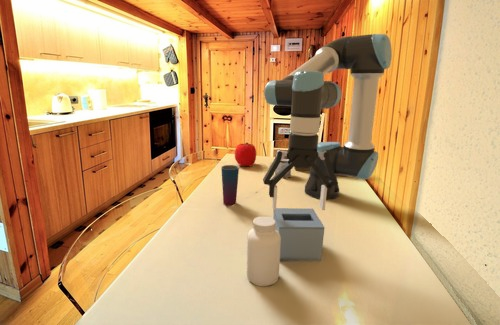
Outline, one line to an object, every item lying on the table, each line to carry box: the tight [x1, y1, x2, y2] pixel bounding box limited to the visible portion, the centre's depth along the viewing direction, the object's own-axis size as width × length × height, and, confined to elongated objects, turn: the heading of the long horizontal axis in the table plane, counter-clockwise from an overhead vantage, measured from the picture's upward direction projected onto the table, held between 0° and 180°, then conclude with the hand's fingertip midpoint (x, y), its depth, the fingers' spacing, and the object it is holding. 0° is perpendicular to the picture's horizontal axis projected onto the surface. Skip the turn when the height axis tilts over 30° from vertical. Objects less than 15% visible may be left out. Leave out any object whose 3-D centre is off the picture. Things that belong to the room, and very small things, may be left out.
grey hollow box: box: [272, 207, 325, 262], centre depth 82 cm, size 12×12×10 cm
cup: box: [221, 164, 240, 207], centre depth 112 cm, size 7×7×15 cm
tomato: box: [234, 142, 257, 167], centre depth 170 cm, size 16×14×14 cm
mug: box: [269, 156, 292, 179], centre depth 152 cm, size 12×10×9 cm
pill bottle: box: [246, 216, 281, 287], centre depth 68 cm, size 8×8×15 cm
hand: (298, 208), depth 80 cm, fingers open, 13 cm apart
